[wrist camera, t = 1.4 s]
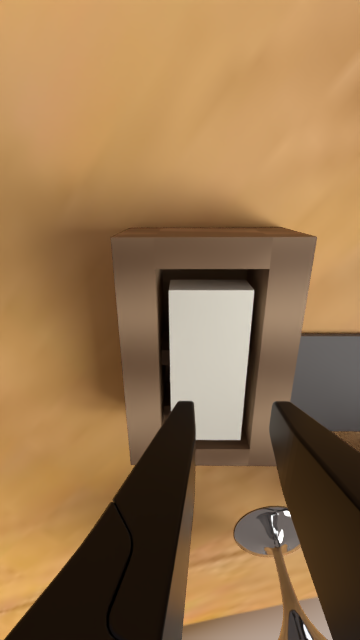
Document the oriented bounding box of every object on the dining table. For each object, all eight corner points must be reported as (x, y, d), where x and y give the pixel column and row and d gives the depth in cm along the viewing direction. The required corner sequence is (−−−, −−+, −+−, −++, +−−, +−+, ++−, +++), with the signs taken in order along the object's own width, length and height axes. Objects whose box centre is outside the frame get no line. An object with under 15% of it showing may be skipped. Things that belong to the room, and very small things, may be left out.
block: (234, 416, 19) (240, 440, 17) (172, 416, 19) (171, 439, 17) (245, 279, 16) (254, 290, 14) (170, 279, 16) (168, 290, 14)
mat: (380, 427, 23) (384, 431, 23) (277, 427, 23) (278, 430, 23) (410, 333, 20) (414, 336, 20) (291, 333, 20) (293, 336, 20)
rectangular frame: (259, 411, 22) (279, 466, 18) (141, 410, 23) (130, 464, 18) (281, 227, 17) (317, 236, 13) (130, 227, 18) (110, 237, 13)
